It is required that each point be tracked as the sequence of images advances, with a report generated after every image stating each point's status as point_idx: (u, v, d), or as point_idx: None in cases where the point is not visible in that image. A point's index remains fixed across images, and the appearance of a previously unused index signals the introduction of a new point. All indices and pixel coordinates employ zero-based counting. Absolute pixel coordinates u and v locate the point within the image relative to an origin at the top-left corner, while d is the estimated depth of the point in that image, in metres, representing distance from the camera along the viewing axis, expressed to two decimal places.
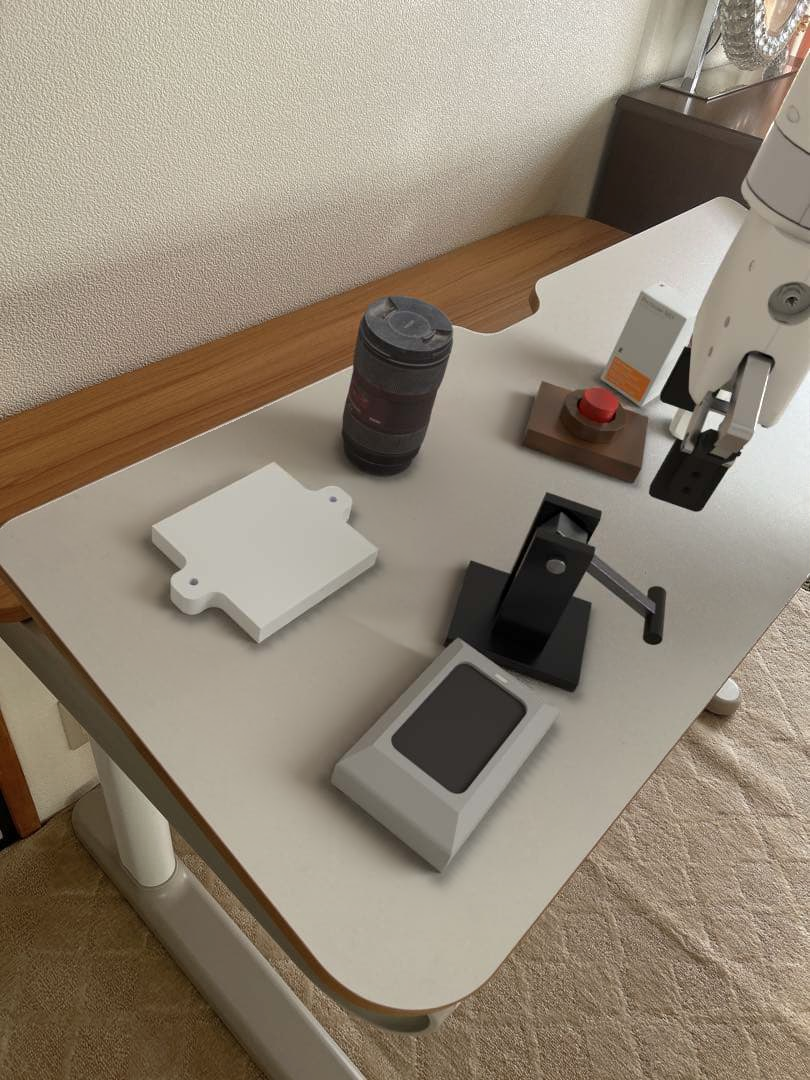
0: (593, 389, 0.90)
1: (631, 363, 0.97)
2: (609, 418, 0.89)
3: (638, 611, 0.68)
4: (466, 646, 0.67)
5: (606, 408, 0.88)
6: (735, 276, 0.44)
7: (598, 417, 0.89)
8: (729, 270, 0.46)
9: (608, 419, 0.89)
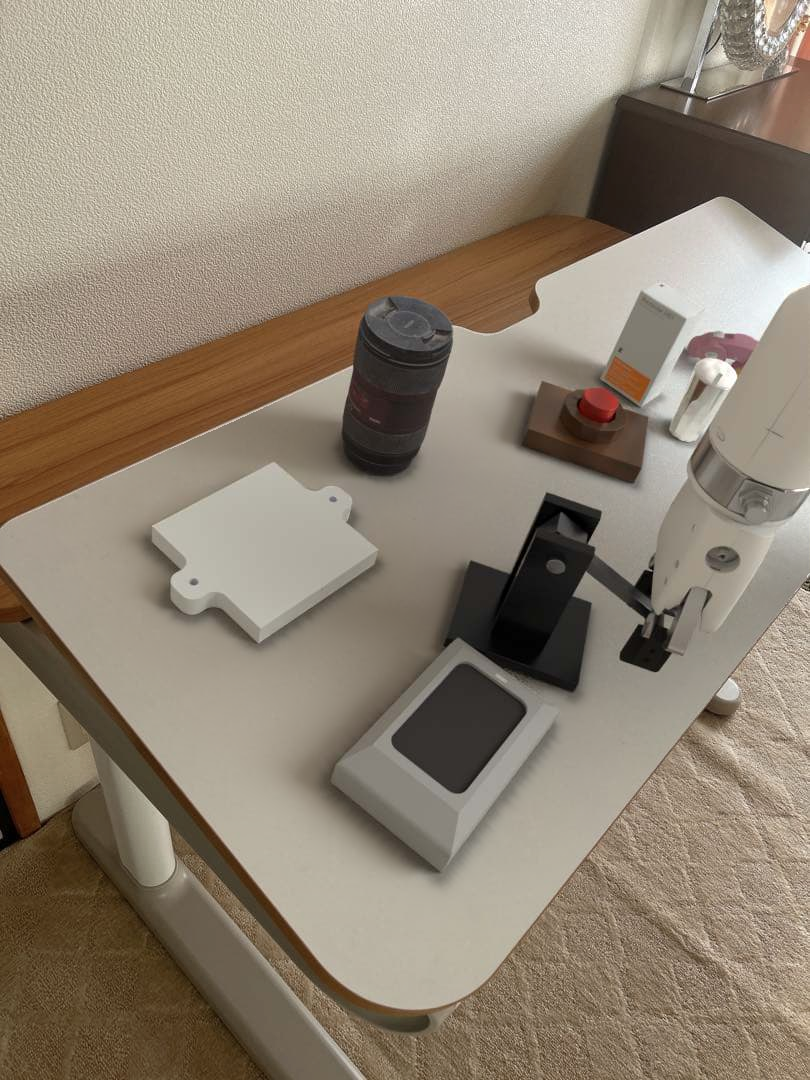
0: (593, 389, 0.90)
1: (631, 363, 0.97)
2: (609, 418, 0.89)
3: (638, 611, 0.68)
4: (466, 646, 0.67)
5: (606, 408, 0.88)
6: (683, 528, 0.59)
7: (598, 417, 0.89)
8: (680, 518, 0.61)
9: (608, 419, 0.89)
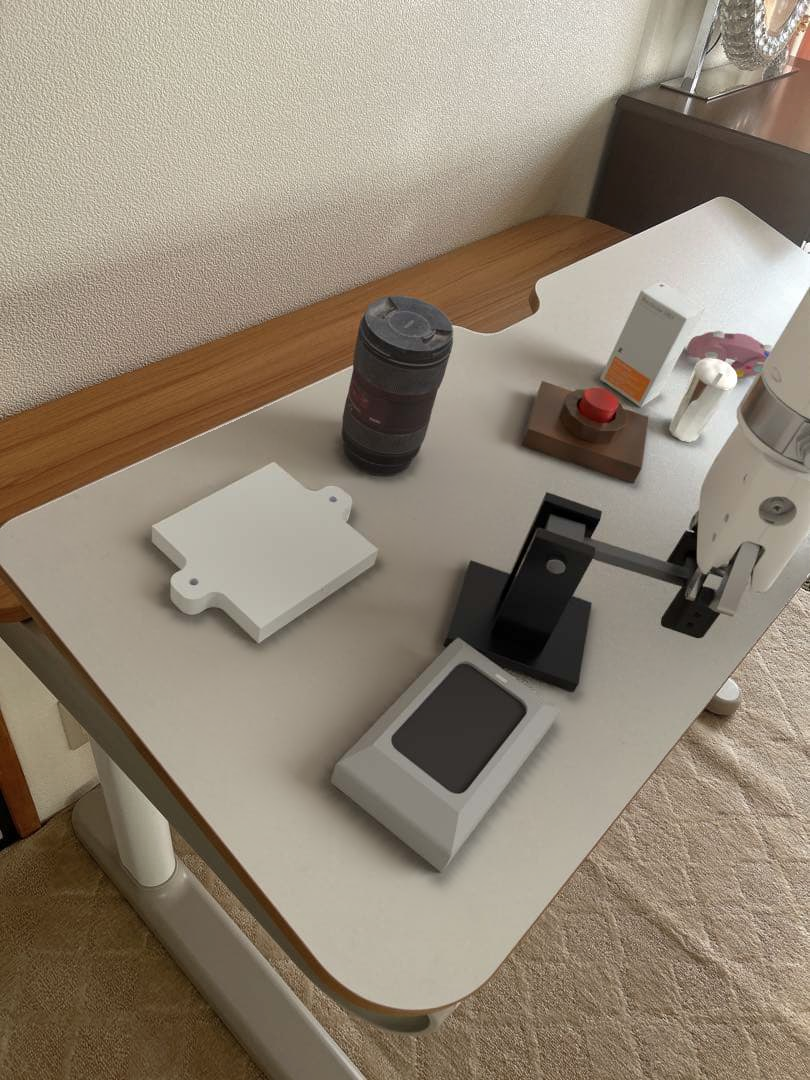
0: (593, 389, 0.90)
1: (631, 363, 0.97)
2: (609, 418, 0.89)
3: (672, 582, 0.65)
4: (466, 646, 0.67)
5: (606, 408, 0.88)
6: (733, 480, 0.56)
7: (598, 417, 0.89)
8: (728, 470, 0.57)
9: (608, 419, 0.89)
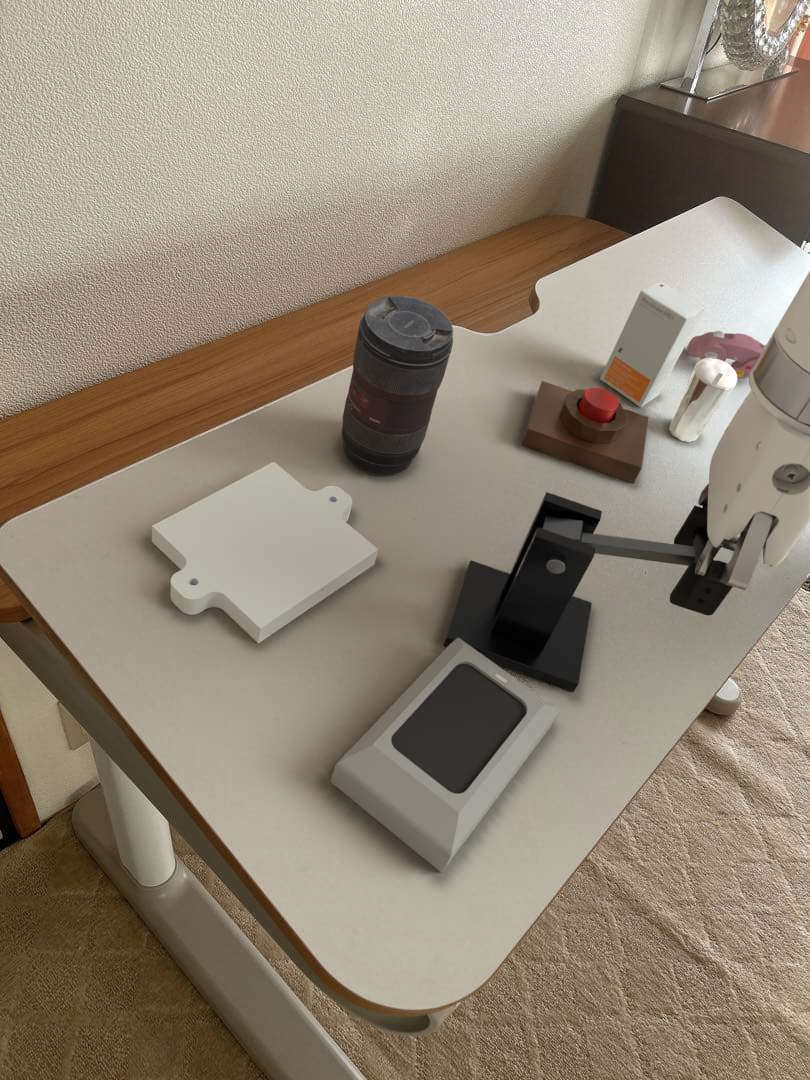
0: (593, 389, 0.90)
1: (631, 363, 0.97)
2: (609, 418, 0.89)
3: (680, 563, 0.63)
4: (466, 646, 0.67)
5: (606, 408, 0.88)
6: (745, 448, 0.54)
7: (598, 417, 0.89)
8: (740, 439, 0.55)
9: (608, 419, 0.89)
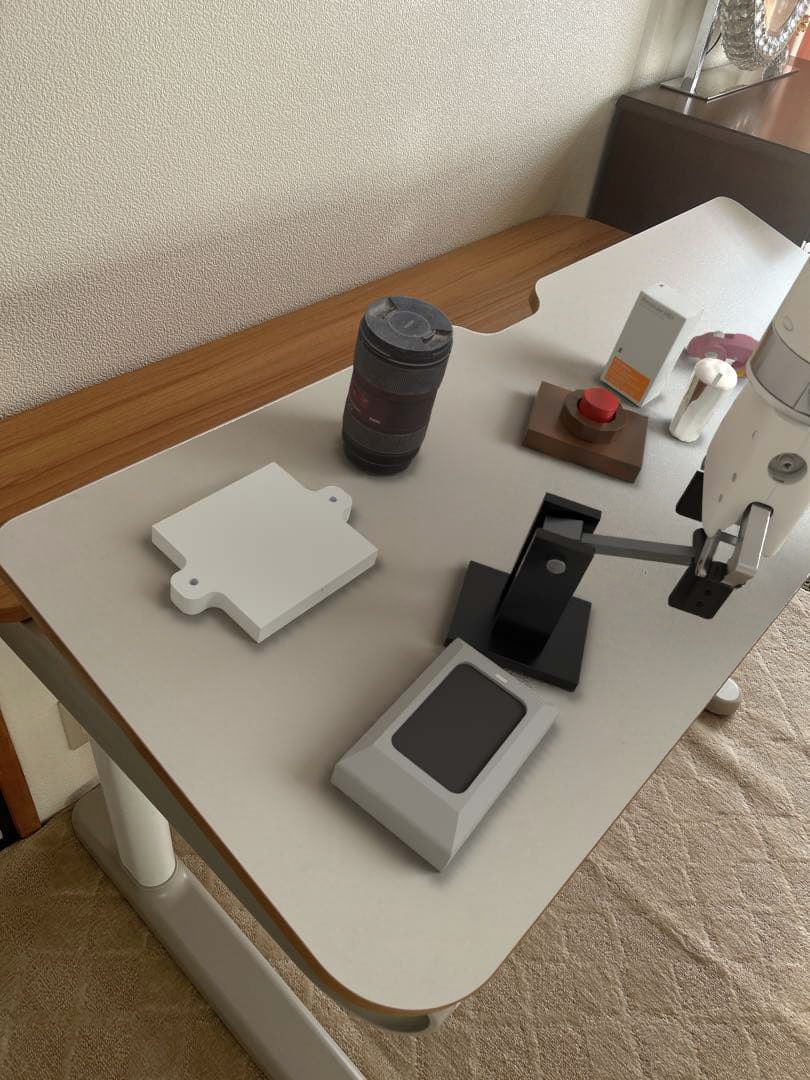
0: (593, 389, 0.90)
1: (631, 363, 0.97)
2: (609, 418, 0.89)
3: (680, 563, 0.64)
4: (466, 646, 0.67)
5: (606, 408, 0.88)
6: (741, 438, 0.54)
7: (598, 417, 0.89)
8: (736, 429, 0.55)
9: (608, 419, 0.89)
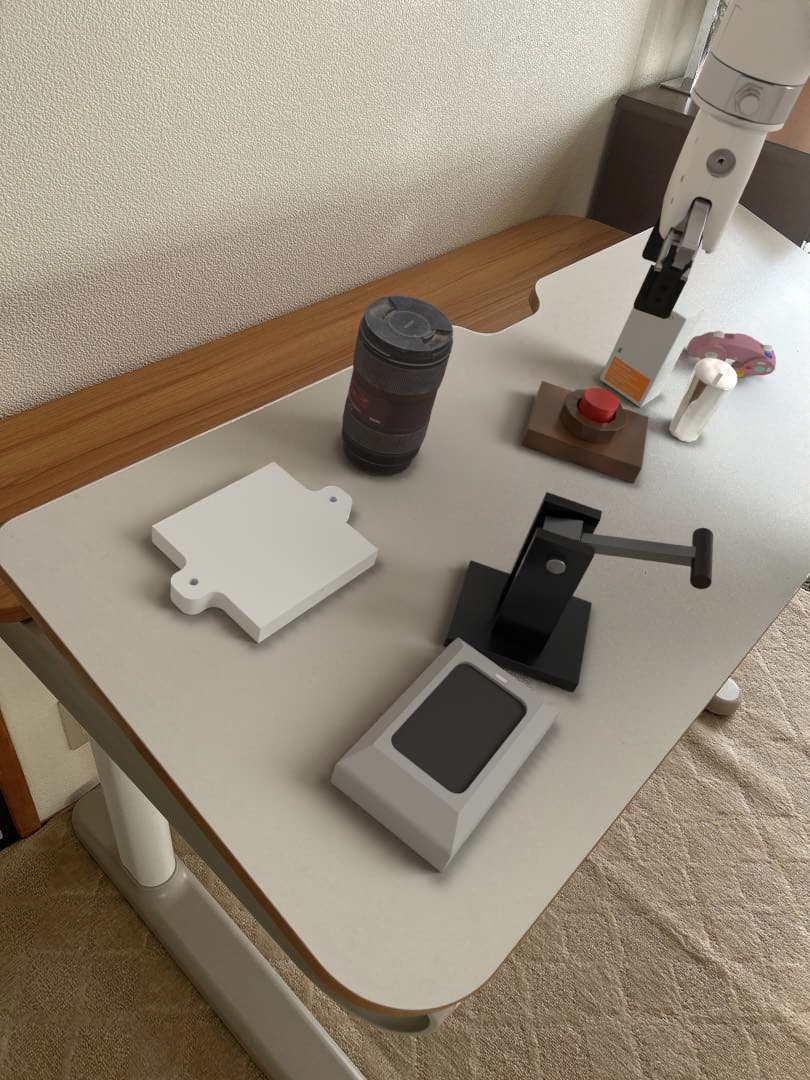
0: (593, 389, 0.90)
1: (631, 363, 0.97)
2: (609, 418, 0.89)
3: (680, 563, 0.64)
4: (466, 646, 0.67)
5: (606, 408, 0.88)
6: (687, 150, 0.69)
7: (598, 417, 0.89)
8: (684, 149, 0.71)
9: (608, 419, 0.89)
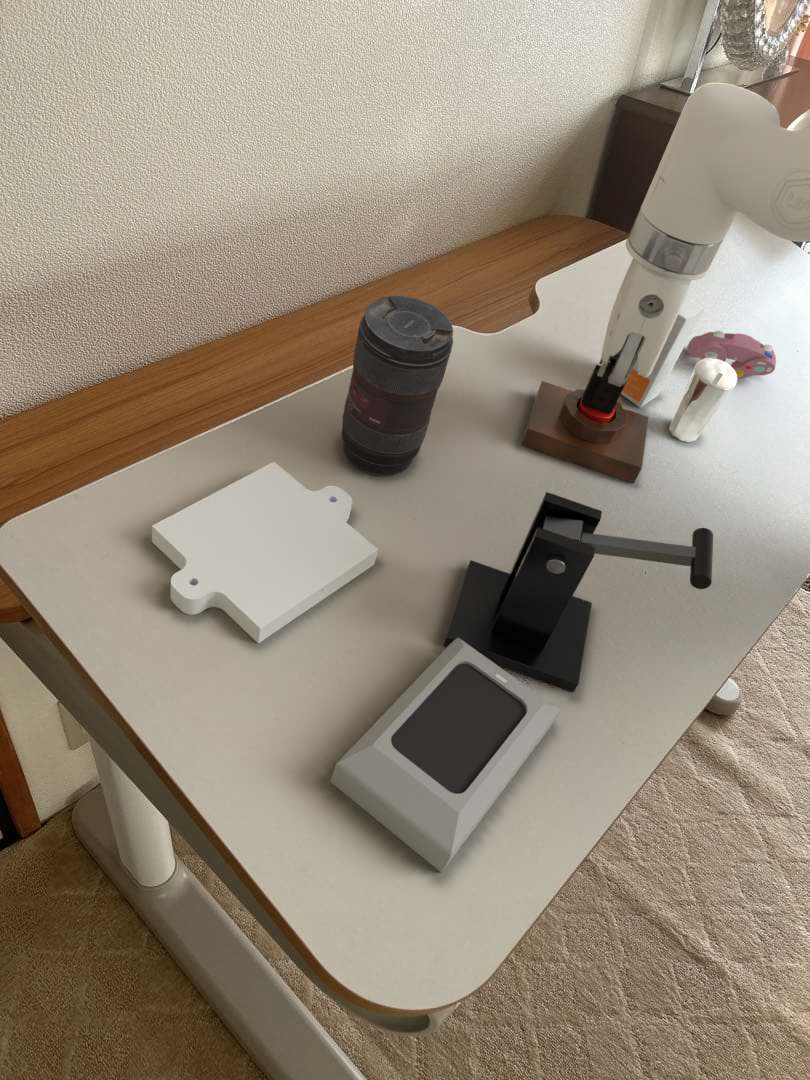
0: None
1: None
2: None
3: (680, 563, 0.64)
4: (466, 646, 0.67)
5: (602, 415, 0.89)
6: (623, 291, 0.79)
7: None
8: (622, 287, 0.80)
9: None
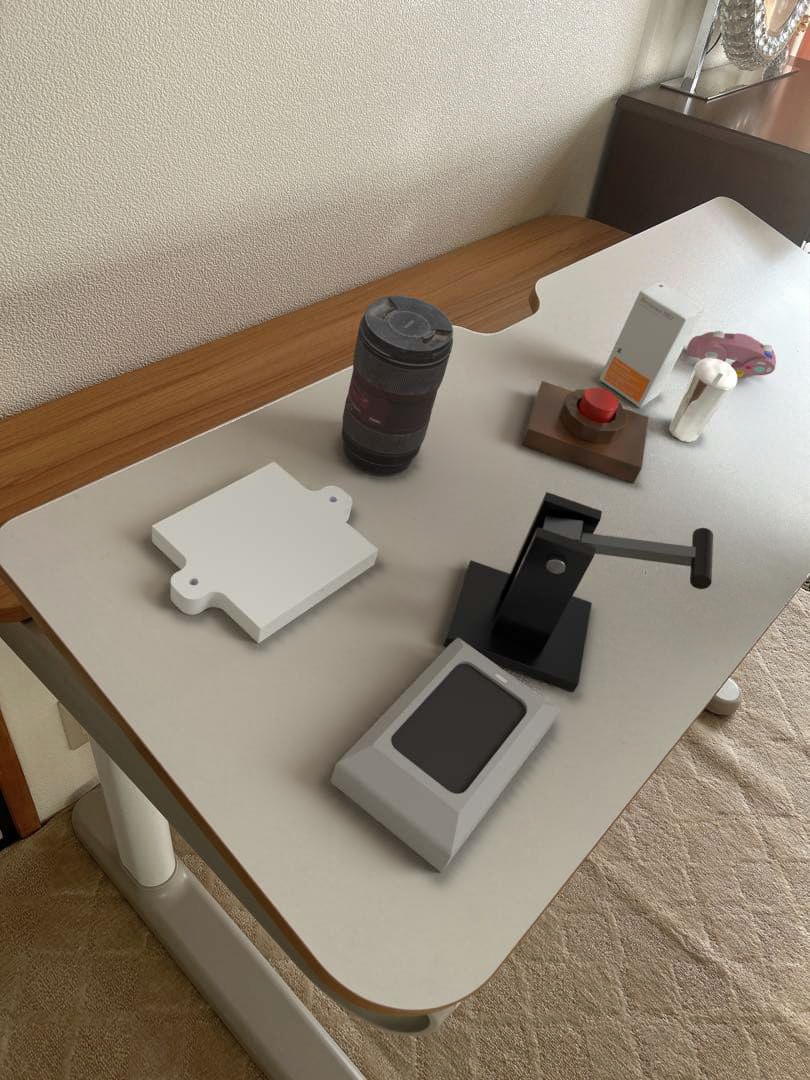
0: (593, 389, 0.90)
1: (630, 363, 0.97)
2: (609, 418, 0.89)
3: (680, 563, 0.64)
4: (466, 646, 0.67)
5: (606, 408, 0.88)
6: None
7: (598, 417, 0.89)
8: None
9: (608, 419, 0.89)
